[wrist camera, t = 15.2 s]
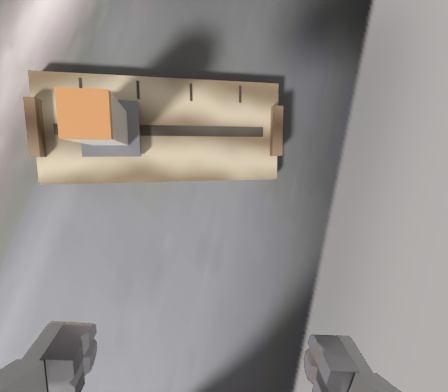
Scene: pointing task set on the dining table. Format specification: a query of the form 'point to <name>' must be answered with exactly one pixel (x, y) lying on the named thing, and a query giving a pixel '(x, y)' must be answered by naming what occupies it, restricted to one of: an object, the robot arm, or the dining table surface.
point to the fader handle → (98, 122)
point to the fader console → (163, 130)
